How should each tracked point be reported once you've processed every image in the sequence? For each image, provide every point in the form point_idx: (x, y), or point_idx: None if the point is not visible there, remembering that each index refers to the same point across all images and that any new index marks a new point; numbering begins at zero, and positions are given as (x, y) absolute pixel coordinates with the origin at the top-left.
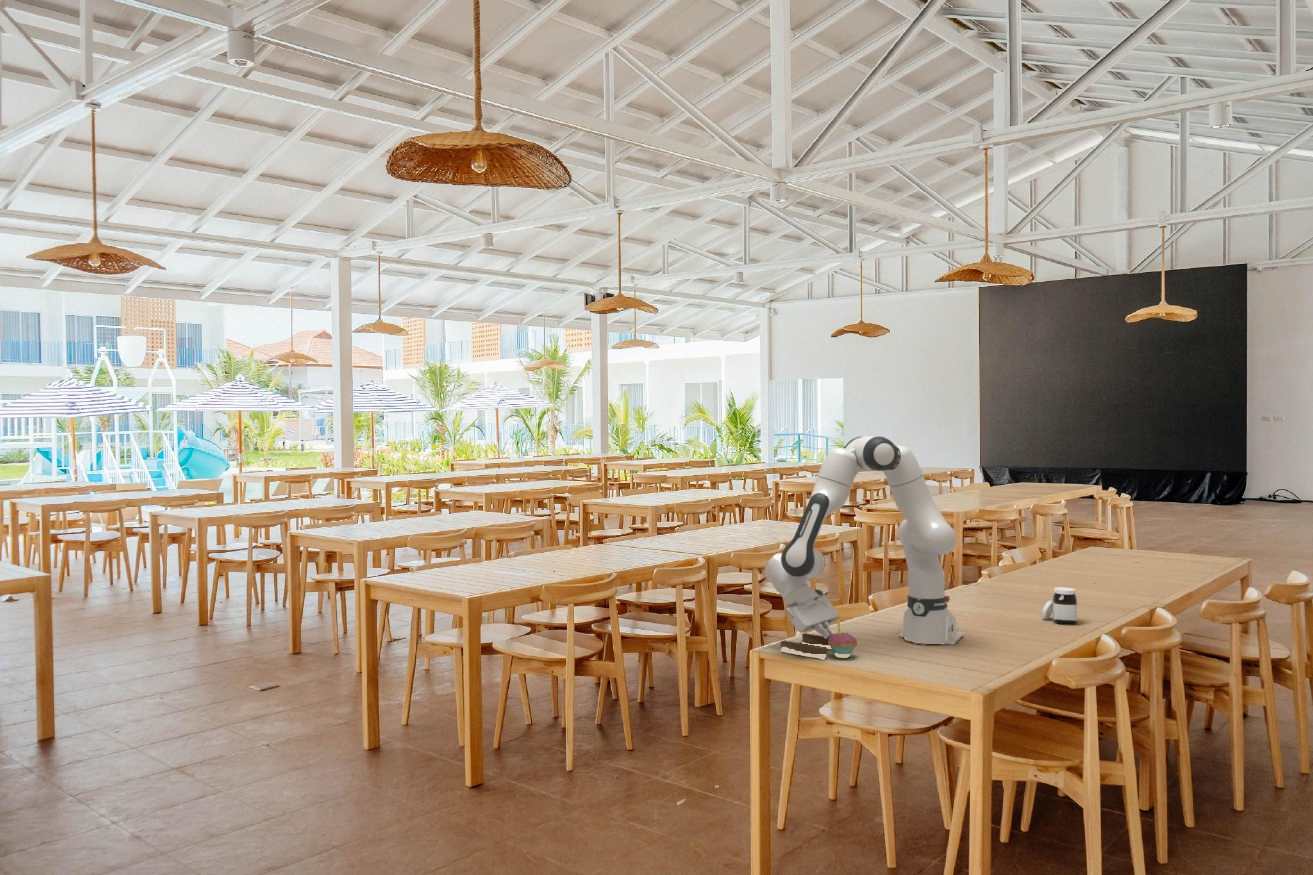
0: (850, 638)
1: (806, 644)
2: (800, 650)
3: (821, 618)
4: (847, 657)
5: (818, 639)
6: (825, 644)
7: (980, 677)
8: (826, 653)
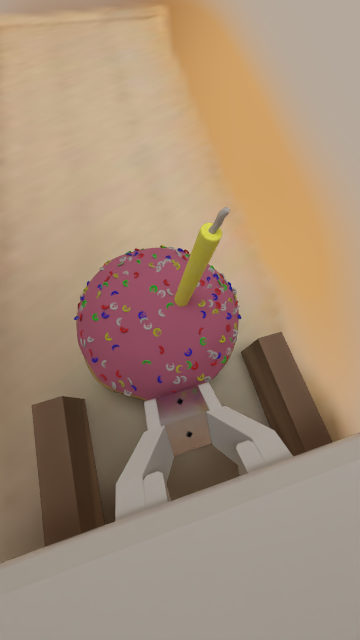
0: (156, 249)
1: None
2: None
3: (236, 517)
4: None
5: None
6: None
7: (47, 39)
8: (250, 345)
